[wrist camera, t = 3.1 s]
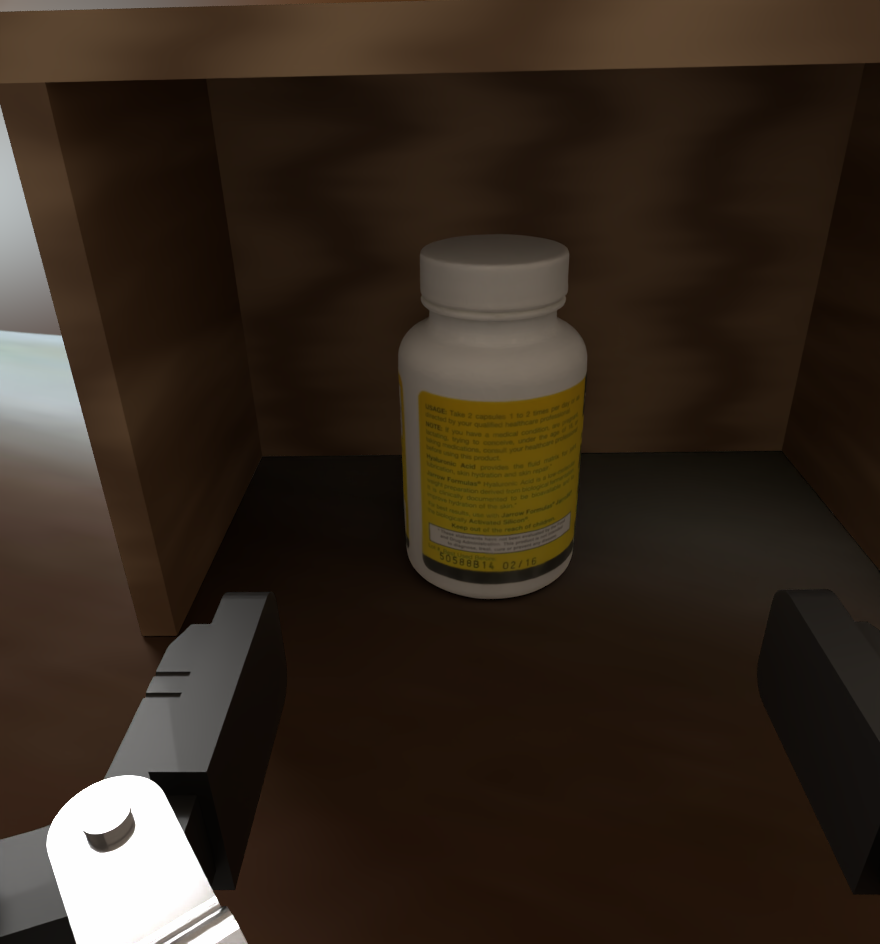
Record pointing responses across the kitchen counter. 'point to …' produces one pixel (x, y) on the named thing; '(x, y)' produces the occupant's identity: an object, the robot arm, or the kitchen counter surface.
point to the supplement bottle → (491, 417)
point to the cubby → (447, 230)
